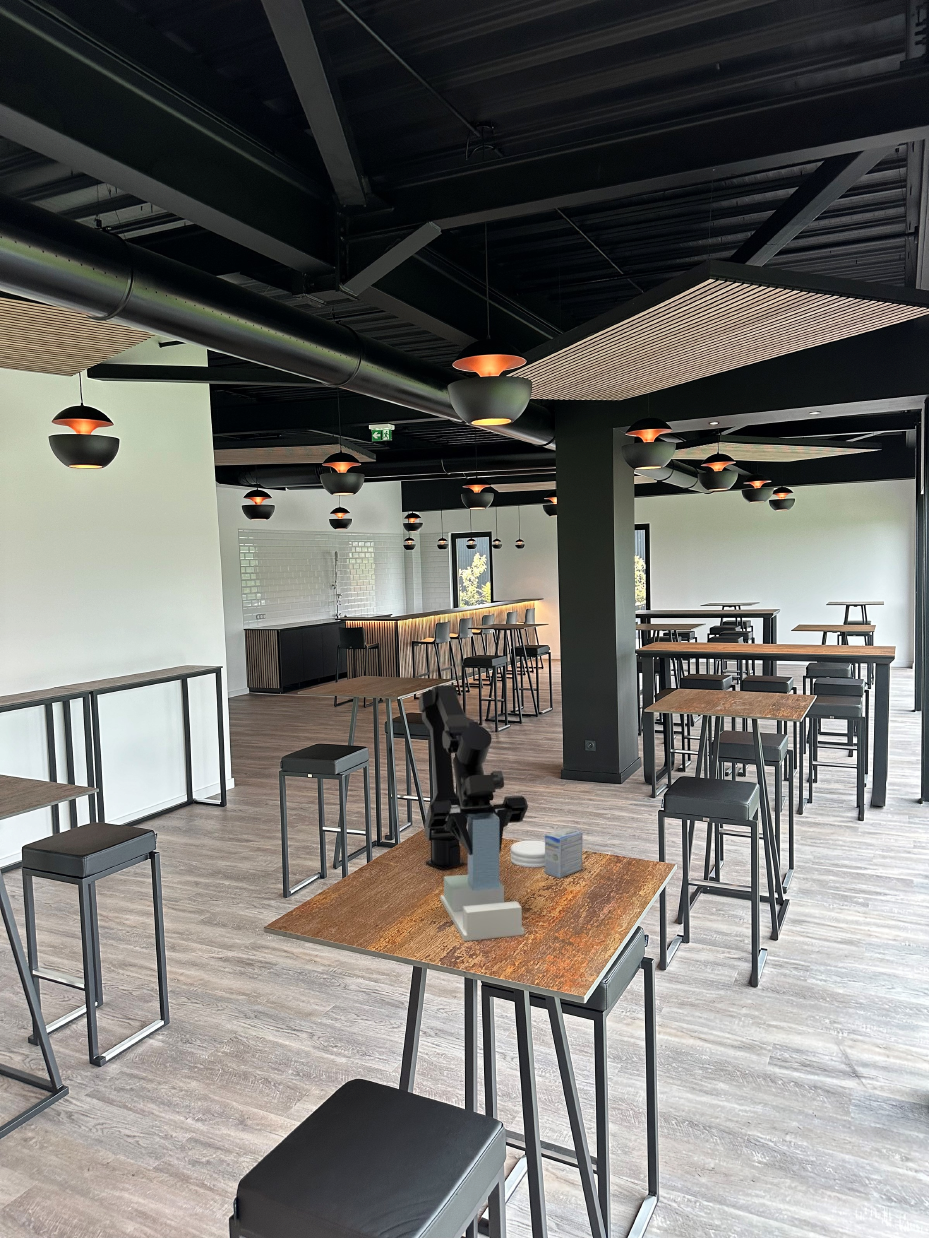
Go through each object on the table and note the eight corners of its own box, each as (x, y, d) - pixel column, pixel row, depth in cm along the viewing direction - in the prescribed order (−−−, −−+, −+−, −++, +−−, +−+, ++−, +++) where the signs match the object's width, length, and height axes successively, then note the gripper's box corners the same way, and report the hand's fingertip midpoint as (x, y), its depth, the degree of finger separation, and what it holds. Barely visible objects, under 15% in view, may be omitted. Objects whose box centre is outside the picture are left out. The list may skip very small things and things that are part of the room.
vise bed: (440, 899, 163) (440, 875, 163) (493, 894, 166) (493, 870, 165) (464, 941, 143) (464, 912, 143) (524, 934, 146) (524, 906, 146)
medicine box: (567, 865, 183) (566, 827, 183) (583, 870, 180) (583, 831, 180) (544, 874, 178) (544, 834, 178) (560, 879, 175) (560, 838, 174)
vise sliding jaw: (444, 896, 162) (443, 876, 162) (492, 891, 164) (492, 872, 164) (453, 911, 154) (453, 890, 154) (504, 906, 157) (504, 885, 156)
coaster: (506, 866, 184) (506, 851, 183) (515, 853, 193) (515, 838, 193) (550, 870, 181) (550, 854, 181) (557, 856, 190) (557, 841, 190)
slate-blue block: (467, 883, 153) (467, 814, 152) (493, 881, 154) (493, 812, 153) (472, 891, 149) (472, 820, 148) (499, 888, 150) (499, 818, 150)
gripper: (429, 758, 152) (441, 834, 142) (525, 753, 157) (543, 827, 146) (421, 790, 160) (432, 864, 150) (513, 785, 165) (530, 856, 154)
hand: (485, 852), depth 150 cm, fingers closed on slate-blue block, 5 cm apart
